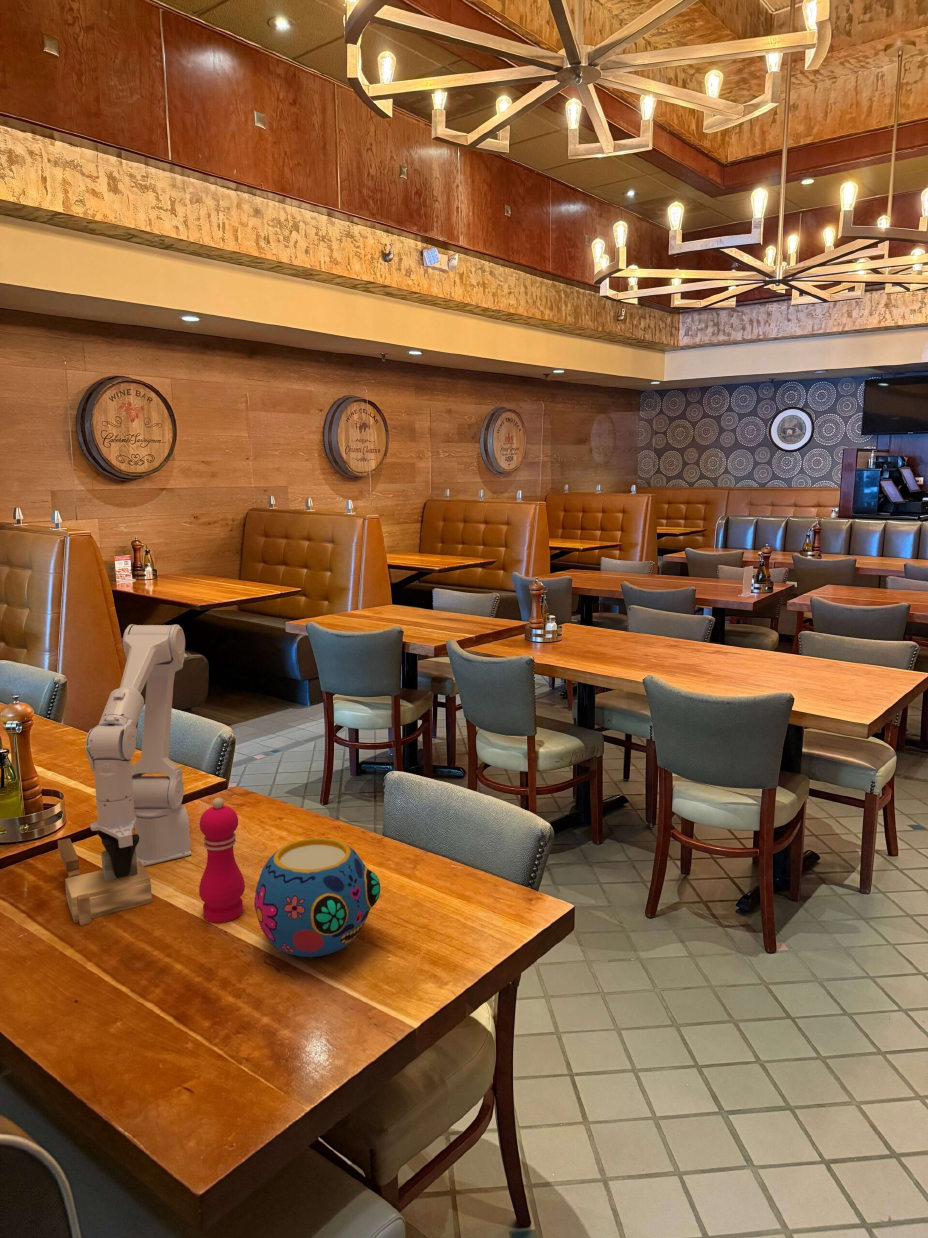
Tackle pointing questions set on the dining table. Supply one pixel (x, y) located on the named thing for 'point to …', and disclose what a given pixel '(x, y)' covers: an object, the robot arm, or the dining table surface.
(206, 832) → the pepper mill
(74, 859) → the rectangular bar
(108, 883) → the lid
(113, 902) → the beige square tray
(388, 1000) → the dining table surface
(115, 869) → the robot arm
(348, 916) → the ceramic pot
